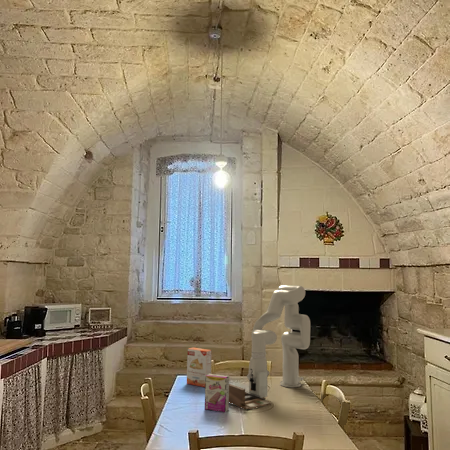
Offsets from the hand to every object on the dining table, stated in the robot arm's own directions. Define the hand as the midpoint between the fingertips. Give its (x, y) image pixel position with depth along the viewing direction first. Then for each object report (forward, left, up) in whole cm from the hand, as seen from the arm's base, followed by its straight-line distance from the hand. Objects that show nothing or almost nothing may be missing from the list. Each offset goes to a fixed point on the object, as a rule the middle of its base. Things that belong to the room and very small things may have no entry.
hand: (258, 389), depth 233 cm
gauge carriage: (+7, +3, -4) cm, 8 cm away
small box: (0, 0, -4) cm, 4 cm away
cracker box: (+10, -41, -5) cm, 43 cm away
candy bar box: (+29, +2, -5) cm, 30 cm away
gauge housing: (+9, +2, -5) cm, 11 cm away
